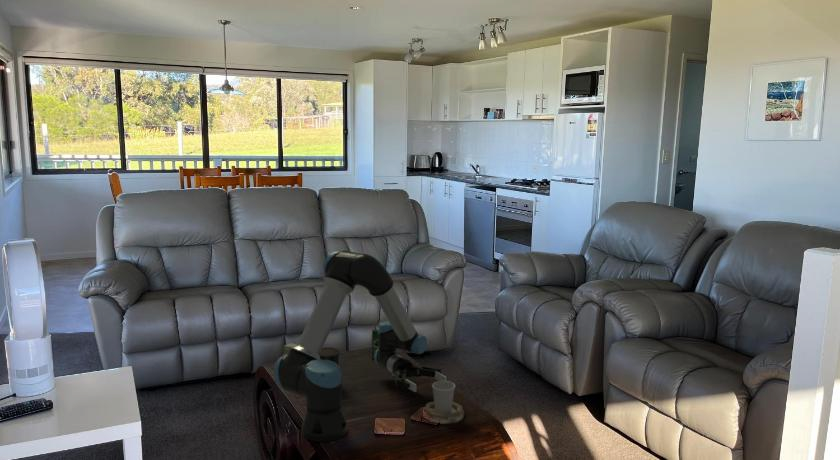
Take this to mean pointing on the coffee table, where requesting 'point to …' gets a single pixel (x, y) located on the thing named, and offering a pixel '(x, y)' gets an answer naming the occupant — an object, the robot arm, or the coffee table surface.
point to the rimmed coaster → (453, 417)
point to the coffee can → (330, 355)
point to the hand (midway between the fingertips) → (431, 384)
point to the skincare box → (288, 347)
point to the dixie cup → (443, 396)
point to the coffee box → (374, 341)
